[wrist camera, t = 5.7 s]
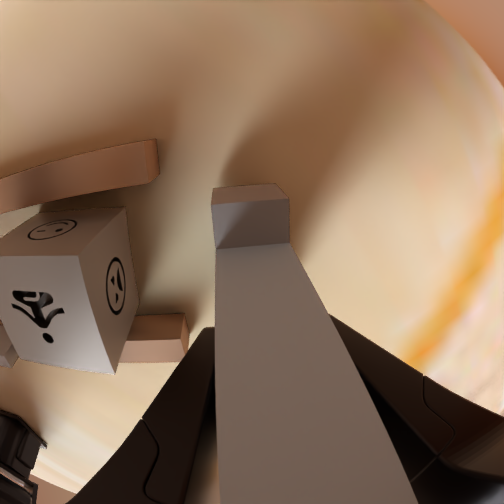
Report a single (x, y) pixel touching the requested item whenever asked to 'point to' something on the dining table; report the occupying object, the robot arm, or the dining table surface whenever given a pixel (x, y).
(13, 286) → the dice cube
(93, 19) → the dining table surface
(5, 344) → the box
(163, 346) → the slot rails
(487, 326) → the dining table surface
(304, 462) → the grey notched beam
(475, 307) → the dining table surface
